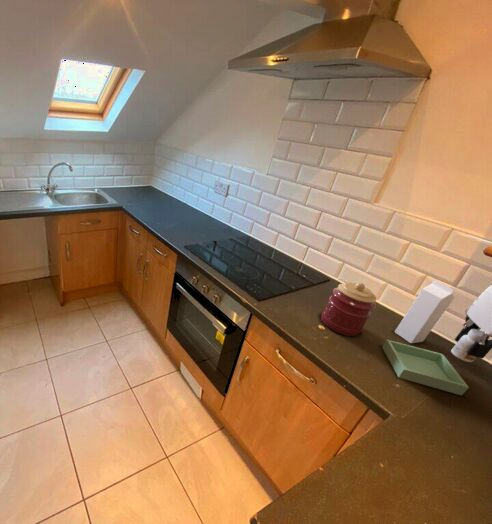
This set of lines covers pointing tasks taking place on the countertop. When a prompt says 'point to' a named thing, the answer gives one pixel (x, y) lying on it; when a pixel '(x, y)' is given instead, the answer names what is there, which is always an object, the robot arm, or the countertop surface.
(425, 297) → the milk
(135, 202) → the countertop surface
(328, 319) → the kitchen canister
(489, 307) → the robot arm
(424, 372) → the tray
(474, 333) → the pill bottle
